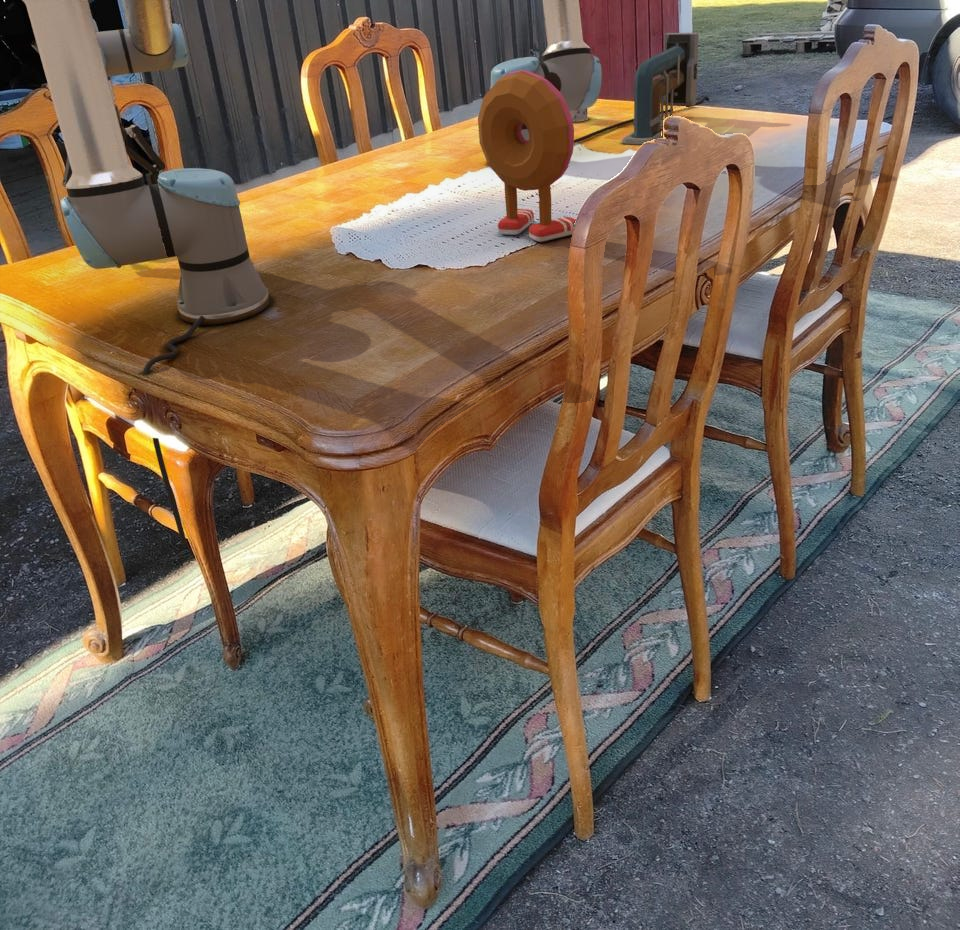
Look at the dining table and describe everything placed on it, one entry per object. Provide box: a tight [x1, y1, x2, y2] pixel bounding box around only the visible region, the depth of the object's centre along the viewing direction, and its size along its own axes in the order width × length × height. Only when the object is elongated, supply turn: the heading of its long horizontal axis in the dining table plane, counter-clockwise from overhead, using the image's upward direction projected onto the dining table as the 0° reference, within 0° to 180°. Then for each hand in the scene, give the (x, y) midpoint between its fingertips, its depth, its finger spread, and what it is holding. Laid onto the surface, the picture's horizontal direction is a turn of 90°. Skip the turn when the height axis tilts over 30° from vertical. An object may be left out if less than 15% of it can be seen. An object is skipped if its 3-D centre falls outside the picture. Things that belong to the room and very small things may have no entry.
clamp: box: [621, 32, 699, 145], centre depth 254 cm, size 35×9×21 cm, turn 151°
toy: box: [477, 70, 577, 243], centre depth 182 cm, size 21×10×30 cm, turn 47°
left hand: (125, 213), depth 199 cm, fingers open, 13 cm apart
